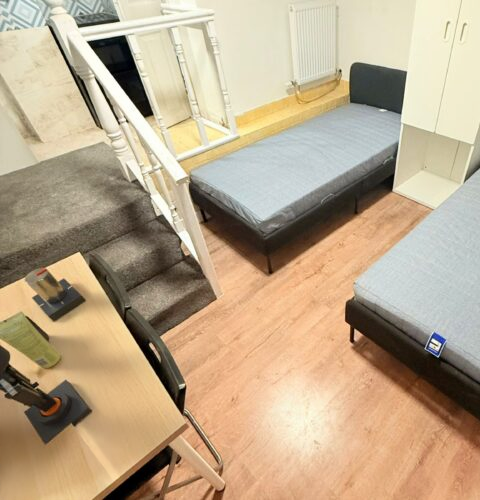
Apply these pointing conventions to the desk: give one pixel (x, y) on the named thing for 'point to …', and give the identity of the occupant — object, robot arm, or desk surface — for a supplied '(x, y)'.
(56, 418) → the dark grey base plate
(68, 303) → the dial panel
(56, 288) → the dial
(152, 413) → the desk surface
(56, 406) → the button
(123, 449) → the desk surface
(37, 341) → the tube
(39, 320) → the desk surface
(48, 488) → the desk surface
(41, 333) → the battery charger
